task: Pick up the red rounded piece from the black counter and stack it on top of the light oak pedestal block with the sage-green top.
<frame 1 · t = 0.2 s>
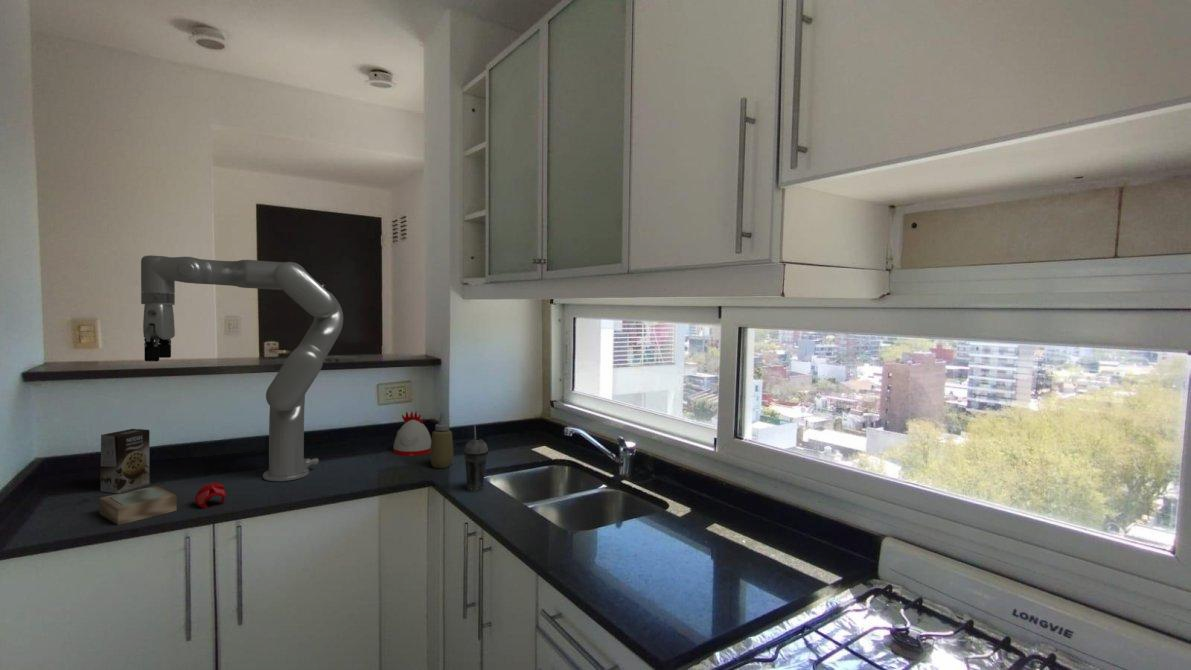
hand: (158, 359, 158), 37 cm above the worktop, tool pointing down, fingers open, 9 cm apart
squeeze bottle: (441, 466, 190), on the worktop
coffee box: (125, 488, 158), on the worktop
kitchen timer: (412, 451, 208), on the worktop
pedestal: (138, 512, 141), on the worktop
beverage cup: (475, 490, 167), on the worktop
red rounded piece: (210, 505, 148), on the worktop
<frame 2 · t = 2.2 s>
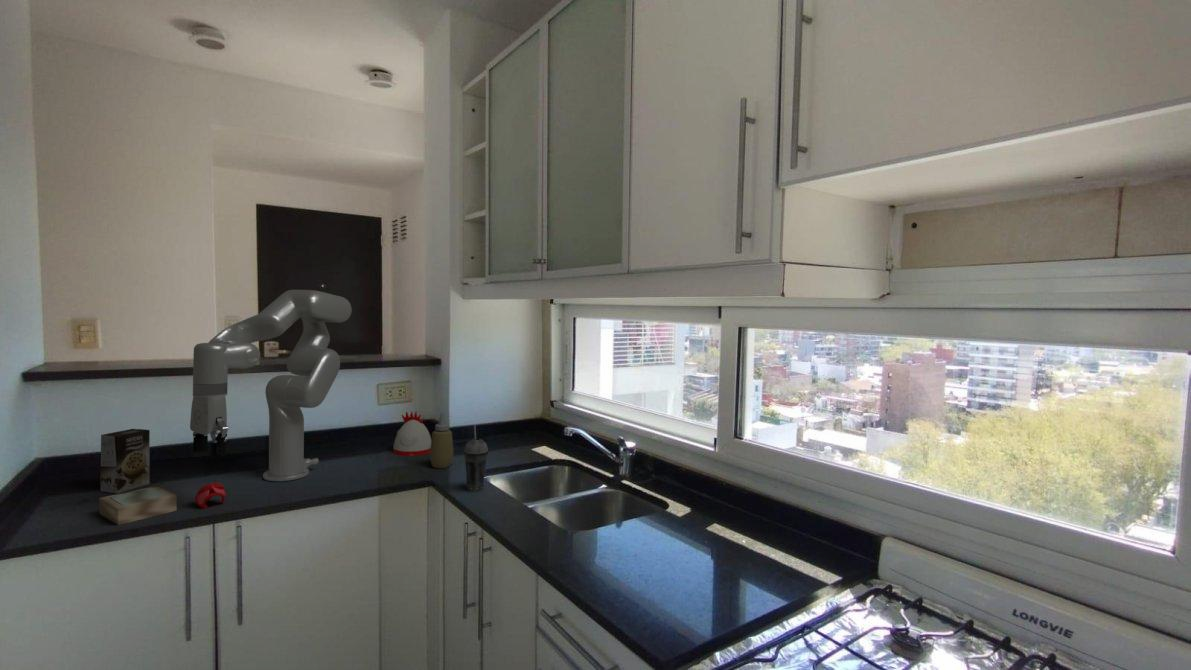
hand: (209, 454, 146), 14 cm above the worktop, tool pointing down, fingers open, 9 cm apart
nothing on the worktop moved.
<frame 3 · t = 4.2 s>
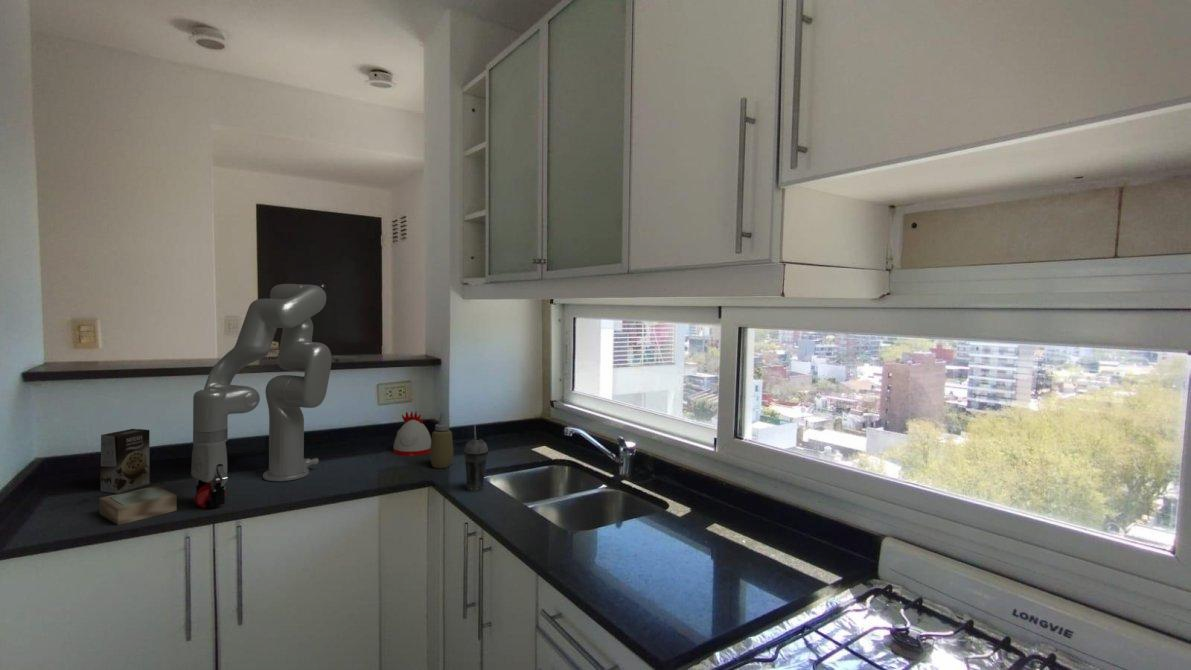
hand: (210, 501, 148), 1 cm above the worktop, tool pointing down, fingers closed on red rounded piece, 7 cm apart
red rounded piece: (210, 505, 148), on the worktop, touching gripper
everything else where it was.
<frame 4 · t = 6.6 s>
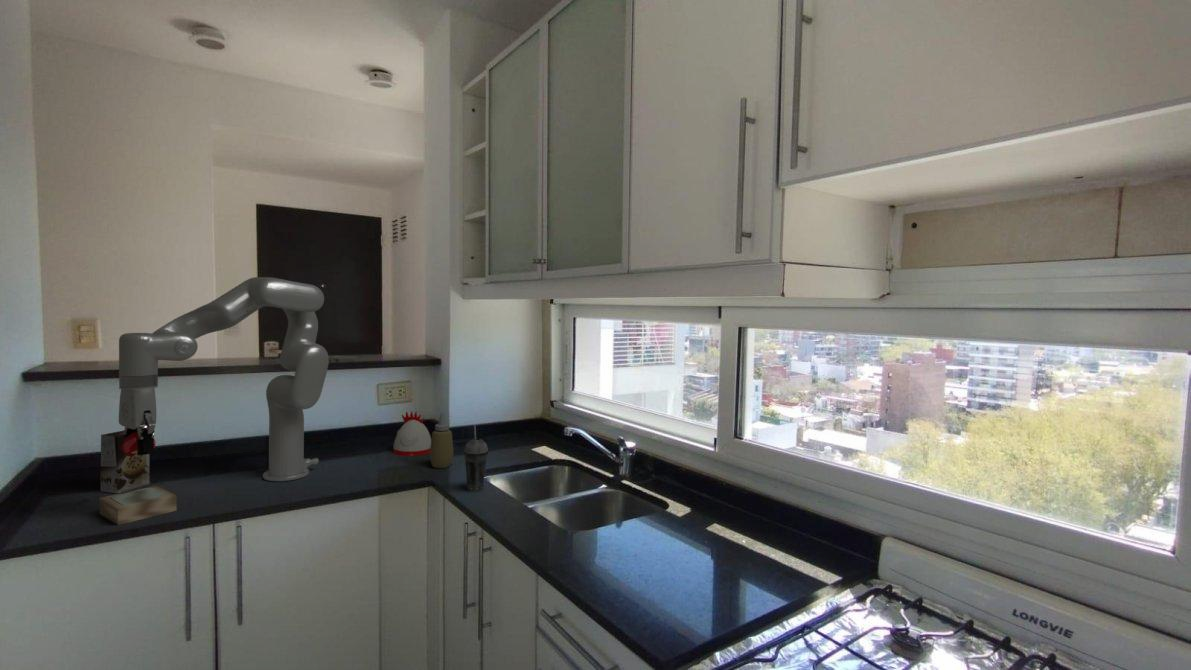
hand: (139, 451, 140), 16 cm above the worktop, tool pointing down, fingers closed on red rounded piece, 7 cm apart
red rounded piece: (138, 455, 140), point 15 cm above the worktop, touching gripper
everything else where it was.
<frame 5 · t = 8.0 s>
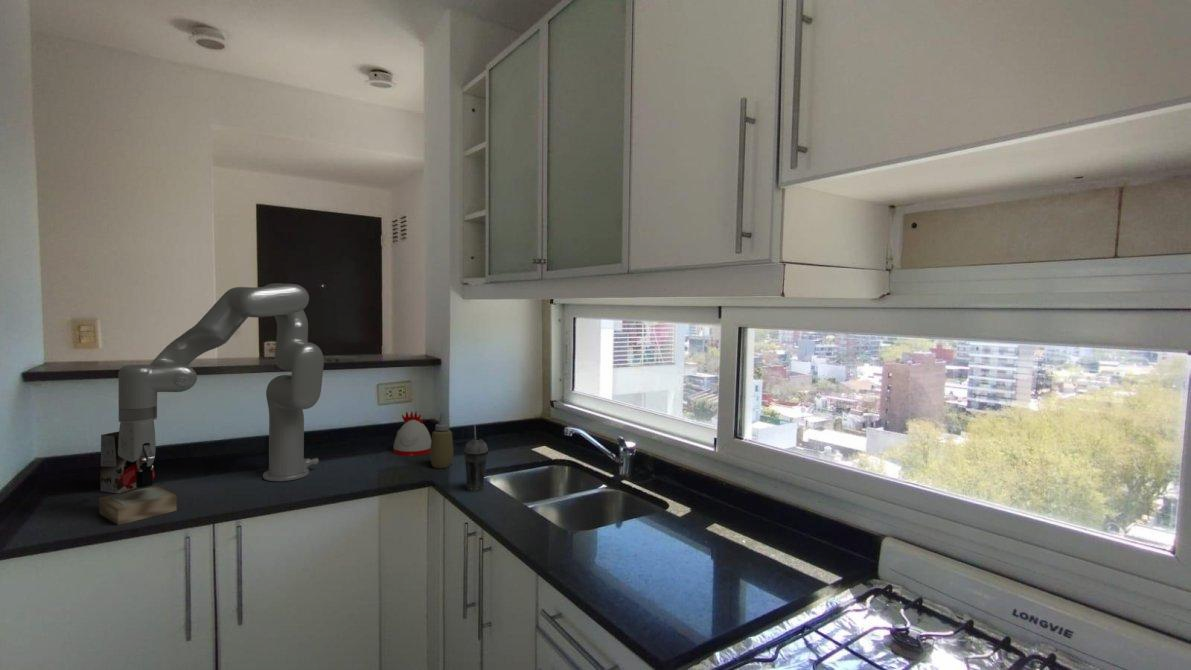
hand: (138, 482, 140), 8 cm above the worktop, tool pointing down, fingers closed on red rounded piece, 7 cm apart
red rounded piece: (137, 486, 141), point 7 cm above the worktop, touching gripper
everything else where it was.
when the fingers open (6 cm above the worktop, at t = 9.2 s): red rounded piece drops 1 cm, resting on pedestal.
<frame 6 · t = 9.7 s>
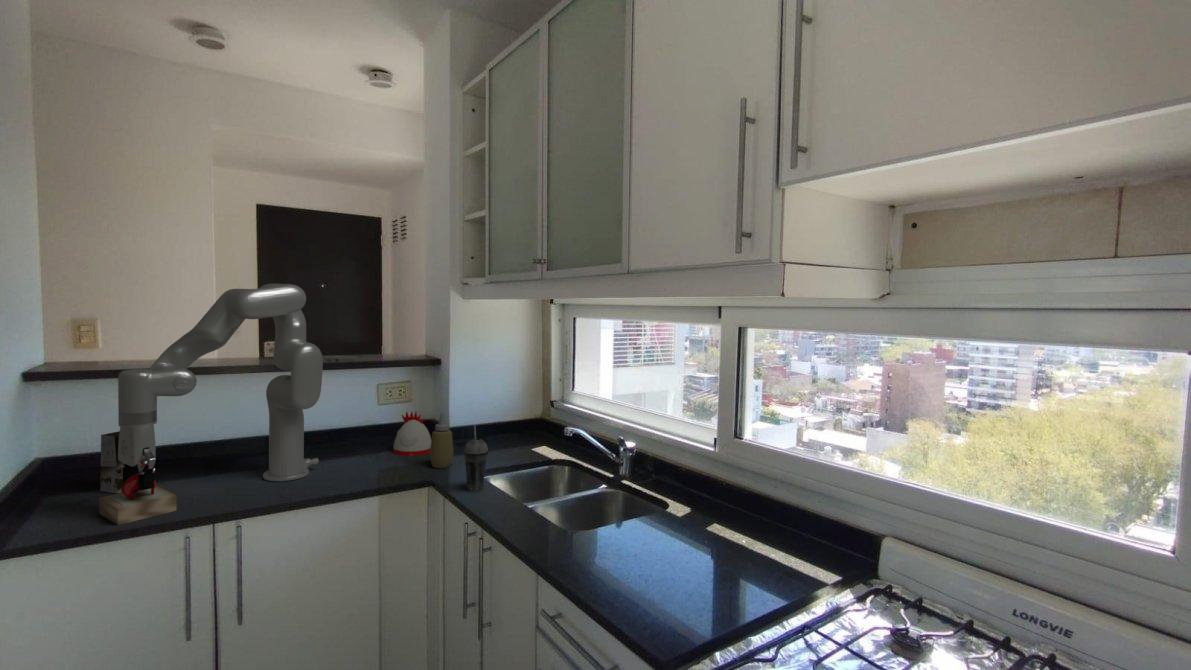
hand: (138, 485, 141), 7 cm above the worktop, tool pointing down, fingers open, 9 cm apart
red rounded piece: (139, 496, 141), point 4 cm above the worktop, touching pedestal
everything else where it was.
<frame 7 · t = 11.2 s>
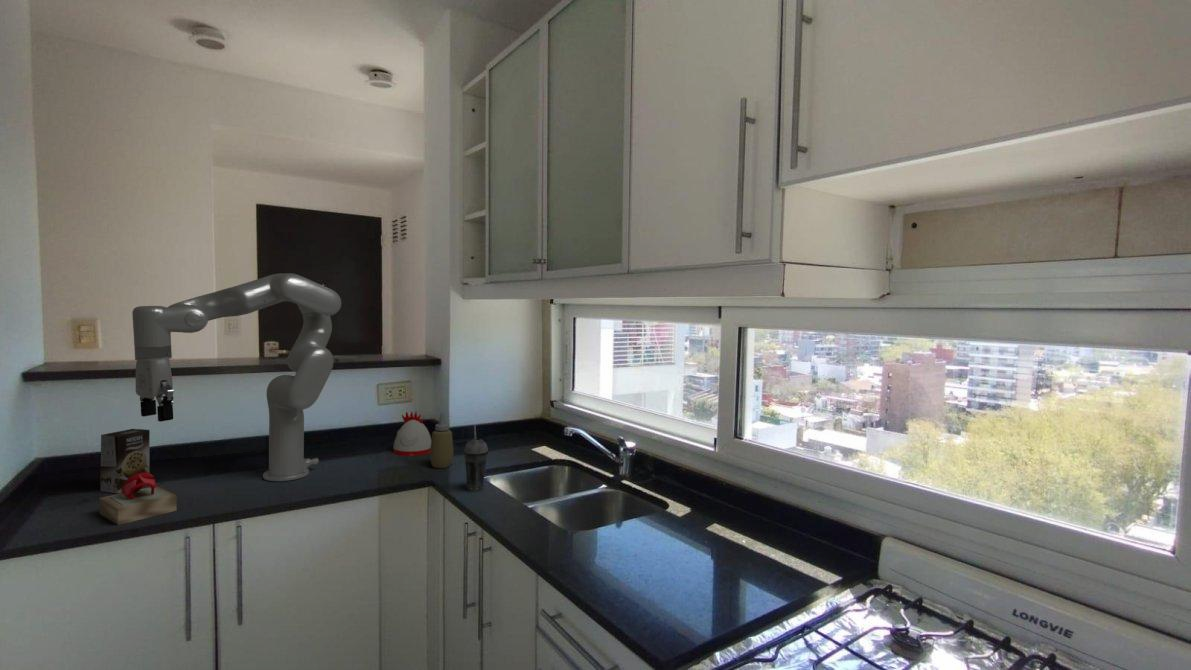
hand: (157, 417, 146), 23 cm above the worktop, tool pointing down, fingers open, 9 cm apart
nothing on the worktop moved.
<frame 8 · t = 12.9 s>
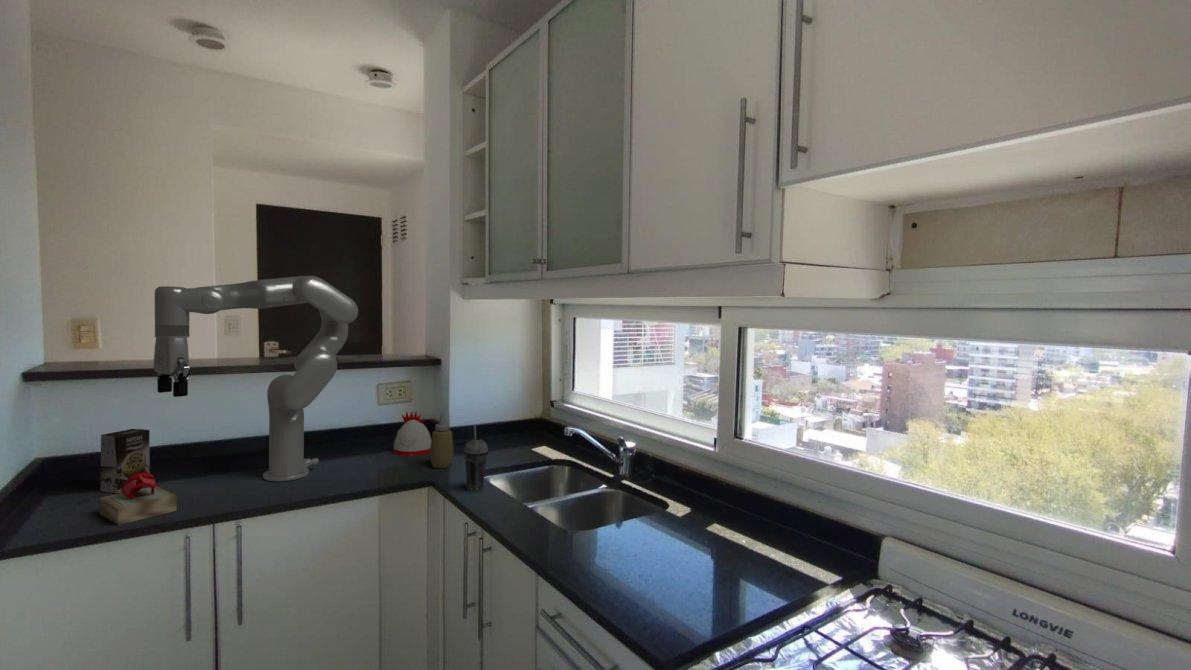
hand: (172, 394, 152), 28 cm above the worktop, tool pointing down, fingers open, 9 cm apart
nothing on the worktop moved.
at the end: red rounded piece inside the target area on the pedestal (0.2 cm from its centre), point 4.0 cm above the pedestal's base; red rounded piece tilted 0°; the gripper is holding nothing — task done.
